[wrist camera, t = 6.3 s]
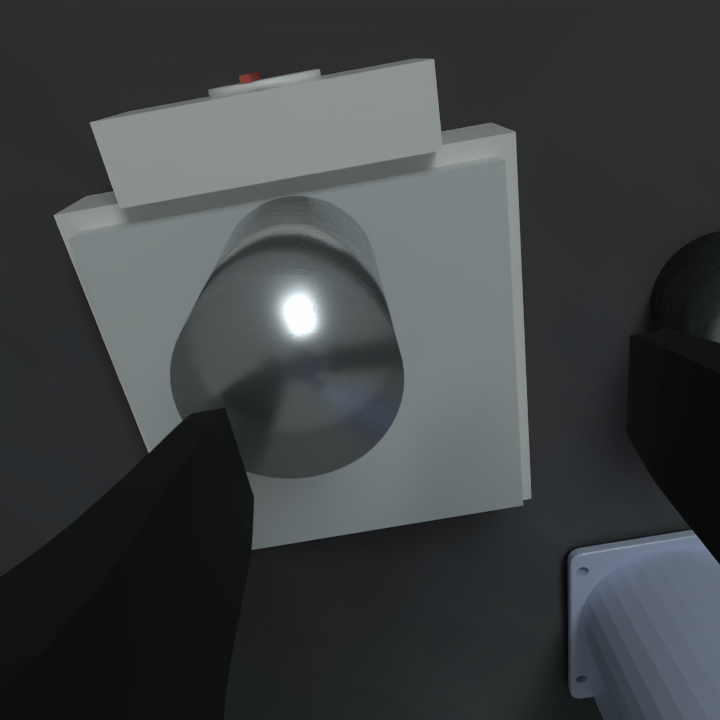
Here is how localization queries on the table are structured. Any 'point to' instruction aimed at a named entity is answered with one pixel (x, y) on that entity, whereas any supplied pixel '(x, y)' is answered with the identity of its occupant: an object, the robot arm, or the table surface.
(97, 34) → the table surface
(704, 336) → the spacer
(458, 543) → the table surface
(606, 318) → the table surface
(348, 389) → the cylinder
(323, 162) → the grey flat ridged box
